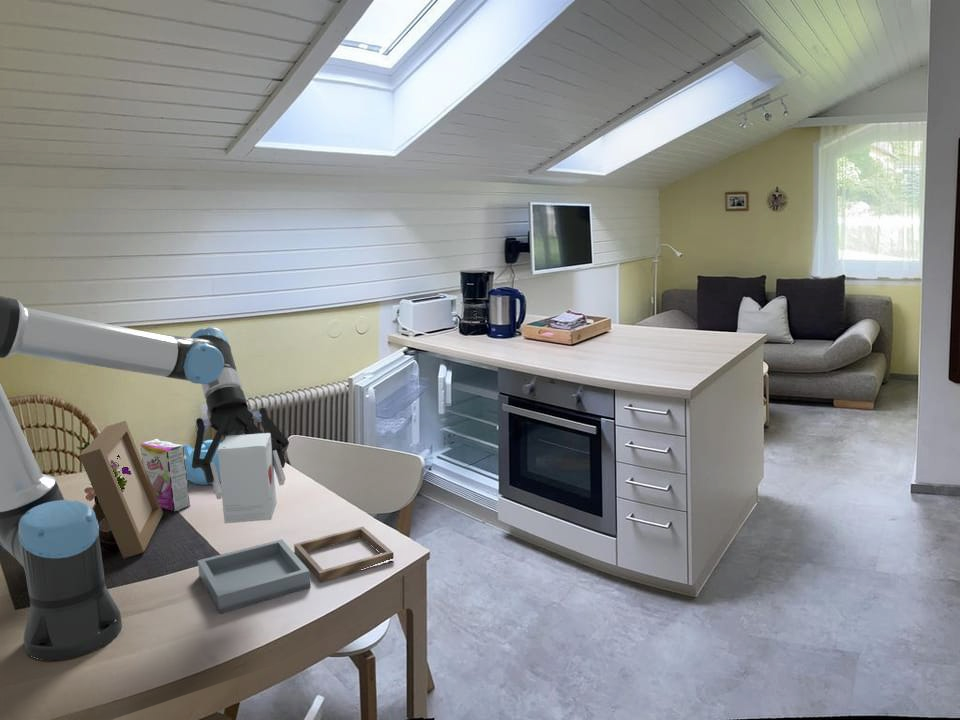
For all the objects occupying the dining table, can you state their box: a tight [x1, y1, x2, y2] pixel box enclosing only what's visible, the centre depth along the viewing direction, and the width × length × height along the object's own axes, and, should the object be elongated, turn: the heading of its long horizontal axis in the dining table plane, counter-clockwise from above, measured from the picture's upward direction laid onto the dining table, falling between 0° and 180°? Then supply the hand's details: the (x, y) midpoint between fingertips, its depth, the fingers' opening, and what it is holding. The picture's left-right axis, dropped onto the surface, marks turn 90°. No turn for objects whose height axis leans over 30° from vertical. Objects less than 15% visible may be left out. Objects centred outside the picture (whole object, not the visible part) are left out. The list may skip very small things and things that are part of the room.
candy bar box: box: [139, 438, 191, 513], centre depth 190 cm, size 11×5×16 cm, turn 58°
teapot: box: [182, 439, 222, 486], centre depth 210 cm, size 15×15×11 cm
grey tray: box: [197, 539, 311, 614], centre depth 151 cm, size 17×17×4 cm
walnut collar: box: [293, 526, 395, 583], centre depth 161 cm, size 16×16×2 cm
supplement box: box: [217, 432, 278, 524], centre depth 147 cm, size 9×9×15 cm
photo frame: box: [78, 420, 164, 559], centre depth 170 cm, size 15×22×25 cm
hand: (251, 488), depth 145 cm, fingers closed on supplement box, 11 cm apart
